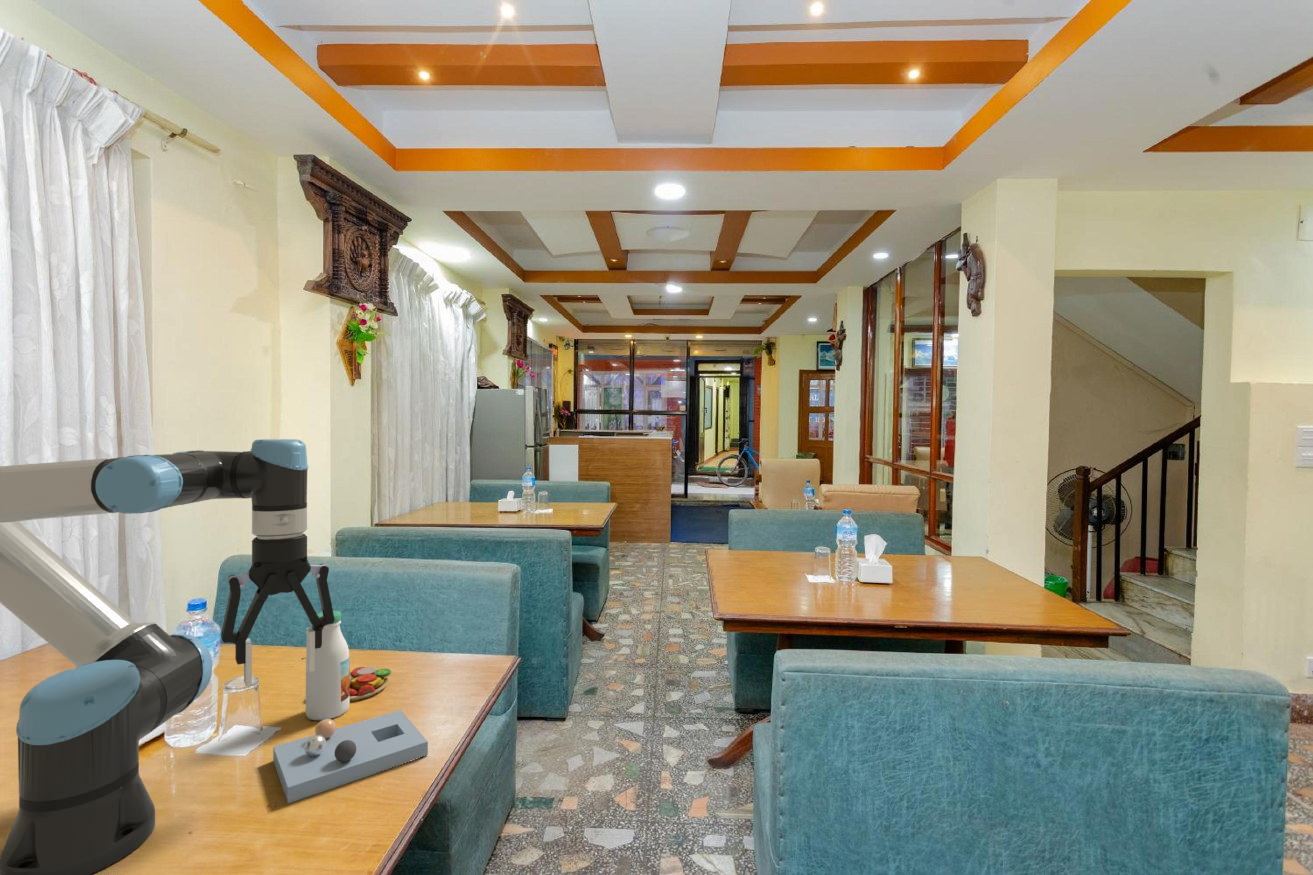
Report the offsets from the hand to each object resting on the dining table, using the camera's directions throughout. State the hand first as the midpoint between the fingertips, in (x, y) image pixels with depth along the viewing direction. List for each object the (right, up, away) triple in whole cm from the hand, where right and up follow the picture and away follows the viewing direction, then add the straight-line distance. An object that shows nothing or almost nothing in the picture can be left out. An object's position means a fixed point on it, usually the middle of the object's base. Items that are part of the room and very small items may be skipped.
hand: (280, 675), depth 96 cm
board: (+8, -17, +7) cm, 20 cm away
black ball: (+10, -13, +2) cm, 16 cm away
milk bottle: (-5, -17, +23) cm, 29 cm away
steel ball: (+4, -13, +3) cm, 14 cm away
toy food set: (-5, -17, +34) cm, 38 cm away
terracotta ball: (+2, -13, +9) cm, 16 cm away
